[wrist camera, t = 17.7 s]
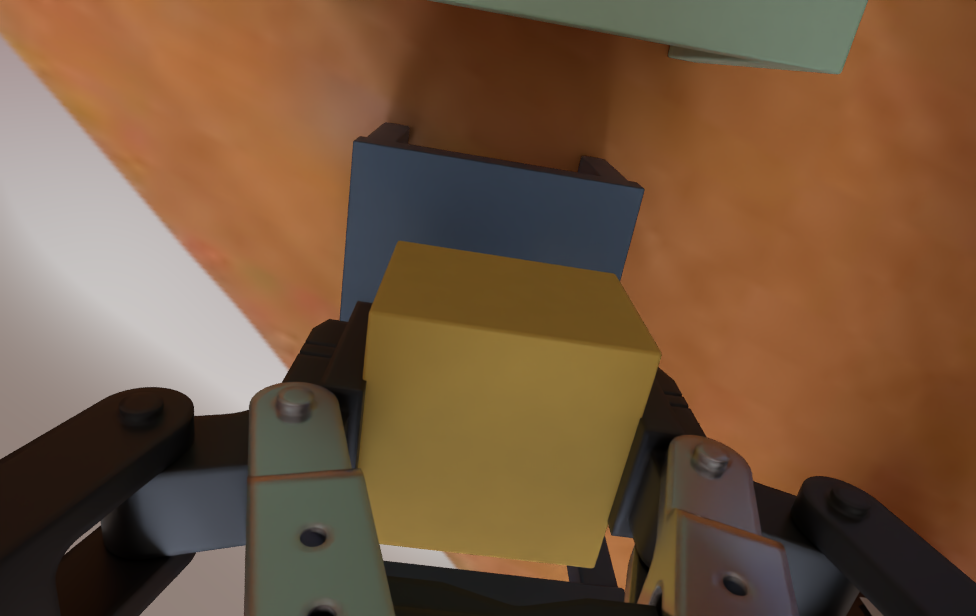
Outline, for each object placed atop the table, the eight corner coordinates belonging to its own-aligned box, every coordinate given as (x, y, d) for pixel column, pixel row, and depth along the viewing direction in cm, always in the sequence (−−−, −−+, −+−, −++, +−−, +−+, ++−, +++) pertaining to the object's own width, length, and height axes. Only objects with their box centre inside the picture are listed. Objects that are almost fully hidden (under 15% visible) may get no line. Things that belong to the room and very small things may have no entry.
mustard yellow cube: (568, 450, 15) (594, 570, 11) (376, 425, 14) (346, 541, 11) (616, 272, 13) (664, 353, 9) (397, 239, 12) (367, 311, 9)
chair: (556, 374, 28) (628, 685, 14) (360, 347, 27) (242, 646, 14) (609, 157, 24) (775, 302, 11) (381, 118, 23) (247, 220, 10)
